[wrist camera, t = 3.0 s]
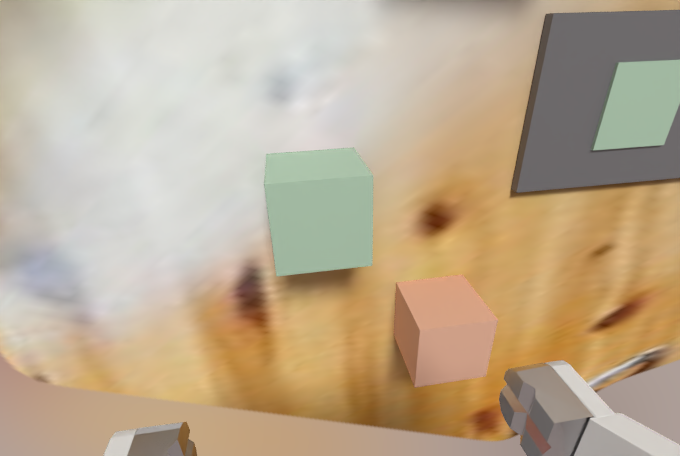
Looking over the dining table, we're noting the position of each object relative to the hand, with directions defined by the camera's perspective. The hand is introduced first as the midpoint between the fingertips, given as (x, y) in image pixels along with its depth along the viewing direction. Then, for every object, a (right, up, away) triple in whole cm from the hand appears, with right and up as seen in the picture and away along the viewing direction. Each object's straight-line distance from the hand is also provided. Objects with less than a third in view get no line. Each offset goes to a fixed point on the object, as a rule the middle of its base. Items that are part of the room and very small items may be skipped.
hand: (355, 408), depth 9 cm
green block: (-2, +7, +13) cm, 15 cm away
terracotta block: (+6, -1, +19) cm, 20 cm away
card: (+18, +12, +13) cm, 25 cm away
